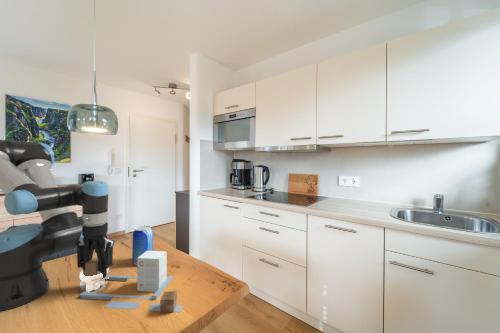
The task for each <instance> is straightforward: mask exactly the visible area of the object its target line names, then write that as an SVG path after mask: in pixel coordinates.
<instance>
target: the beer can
mask: <svg viewBox="0 0 500 333" xmlns="http://www.w3.org/2000/svg"><path fill="white" fill-rule="evenodd" d="M146 251H154V231H153V229H152V226H150V225H141V226H137V227H135V228H134V231H133V232H132V254H131V255H132V263H133V264H134V265H135V266H137V258H138V257H139V256H141V255H142V254H143V253H144V252H146Z"/></svg>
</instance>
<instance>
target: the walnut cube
mask: <svg viewBox="0 0 500 333" xmlns="http://www.w3.org/2000/svg"><path fill="white" fill-rule="evenodd" d="M162 293H163V294H162V295H161V298H160V299H159V301H160V302H159V304H160V311H159V314H162V313H163V314H165V313H166V314H167V313H175V312H174V310H175V307H176V305H178V304H177V302H178V299H177V298H178V292H177V290H173V291H171V290H169V291H163V292H162Z"/></svg>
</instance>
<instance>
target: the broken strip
mask: <svg viewBox="0 0 500 333" xmlns="http://www.w3.org/2000/svg"><path fill="white" fill-rule="evenodd" d="M140 304H141V302H136V301H135V302H134V301H122V300H121V301H120V300H119V301H118V300H110V301H109V302H108V303H107V304H106V305H105V306H104V308H106V309H107V308H108V309H109V308H110V309H122V310H124V309H125V310H136V309H137V308H138V307H139V306H140ZM183 306H184V305H182V304H176V307H175V310H174V312H173V313H180V312H181V310H182V308H183ZM147 311H154V312H155V311H157V312H160V303H154V302H153V303H152V304H151V305H150V306H149V308H147Z"/></svg>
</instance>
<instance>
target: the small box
mask: <svg viewBox="0 0 500 333" xmlns="http://www.w3.org/2000/svg"><path fill="white" fill-rule="evenodd" d="M167 255H168V254H167V251H164V250H153V251H146V252H144V253H143V254H142V255H141V256H139V257H138V258H137V265H136V266H137V267H136V268H137V270H136V271H137V275H136V277H137V279H136V281H137V285H136V286H137V287H136V290H137V292H150V293H151V292H153V293H156V291H157V290H158V289H159V288H160V286H161V285H162V284H163V283H164V282H165V280H166V279H167V278H168V276H167V274H168V273H167V269H168V268H167V266H168V262H167V260H168V256H167Z"/></svg>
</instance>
